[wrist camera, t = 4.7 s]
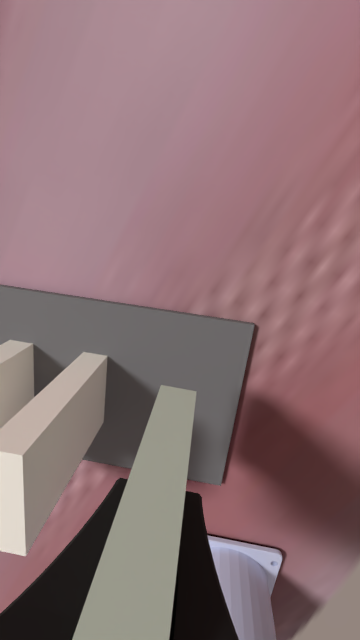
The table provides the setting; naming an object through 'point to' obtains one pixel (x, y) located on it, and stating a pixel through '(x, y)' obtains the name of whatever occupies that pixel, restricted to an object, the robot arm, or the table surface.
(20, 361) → the domino
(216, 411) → the charcoal mat
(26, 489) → the domino
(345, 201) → the table surface
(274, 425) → the table surface
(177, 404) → the domino
